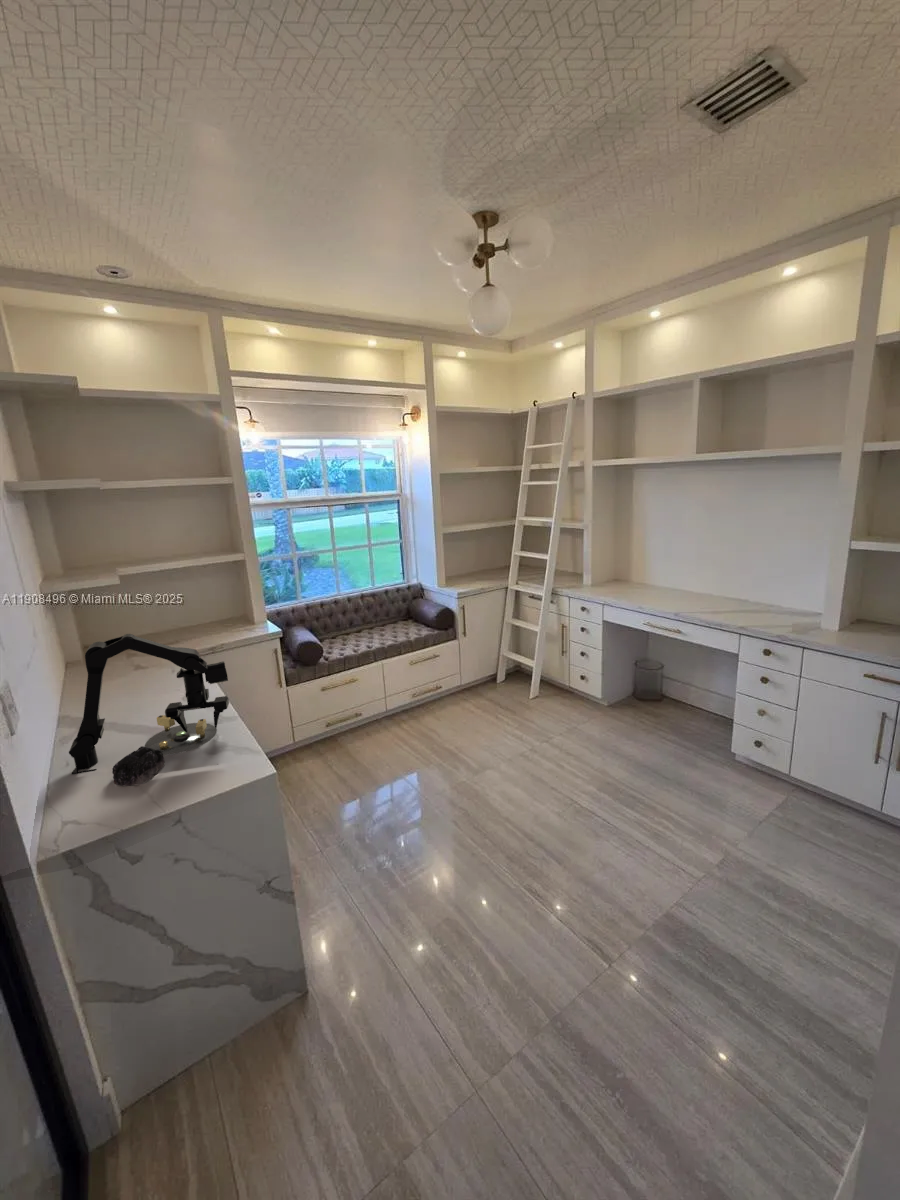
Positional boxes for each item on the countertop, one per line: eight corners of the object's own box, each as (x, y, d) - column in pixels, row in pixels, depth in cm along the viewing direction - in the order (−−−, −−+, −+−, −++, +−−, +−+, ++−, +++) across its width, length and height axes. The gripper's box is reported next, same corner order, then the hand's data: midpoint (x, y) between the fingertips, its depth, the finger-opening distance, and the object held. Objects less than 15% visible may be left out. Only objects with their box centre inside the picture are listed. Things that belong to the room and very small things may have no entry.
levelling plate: (211, 751, 164) (210, 742, 163) (135, 763, 159) (134, 753, 158) (221, 721, 185) (220, 713, 184) (155, 731, 179) (154, 723, 179)
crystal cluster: (109, 778, 152) (100, 750, 149) (157, 756, 161) (150, 730, 158) (122, 798, 143) (112, 770, 140) (172, 775, 152) (164, 747, 149)
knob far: (176, 730, 177) (173, 716, 175) (170, 732, 174) (168, 719, 173) (164, 727, 178) (161, 714, 177) (158, 730, 176) (156, 717, 175)
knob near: (204, 739, 169) (202, 725, 168) (197, 740, 168) (195, 726, 167) (207, 732, 174) (205, 718, 173) (200, 733, 174) (198, 719, 172)
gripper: (228, 674, 177) (234, 715, 181) (169, 681, 172) (176, 723, 176) (223, 686, 167) (229, 729, 170) (161, 694, 162) (168, 738, 165)
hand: (201, 729), depth 171 cm, fingers open, 9 cm apart
